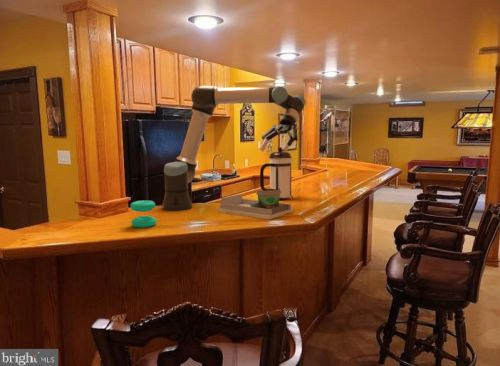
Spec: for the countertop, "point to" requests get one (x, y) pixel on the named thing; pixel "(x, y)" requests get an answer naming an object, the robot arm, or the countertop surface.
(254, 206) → the pusher paddle
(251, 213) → the pusher lane
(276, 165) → the coffee press
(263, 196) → the food container
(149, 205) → the donuts
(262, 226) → the countertop surface
